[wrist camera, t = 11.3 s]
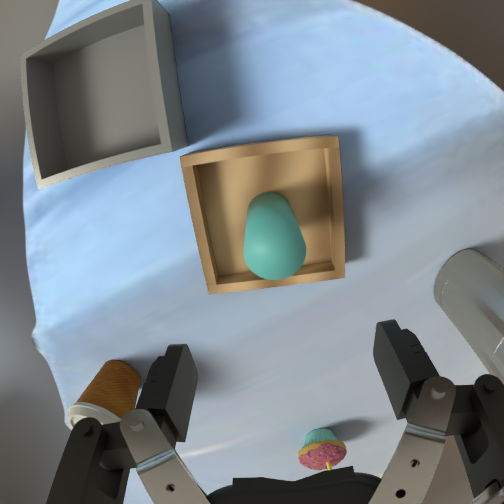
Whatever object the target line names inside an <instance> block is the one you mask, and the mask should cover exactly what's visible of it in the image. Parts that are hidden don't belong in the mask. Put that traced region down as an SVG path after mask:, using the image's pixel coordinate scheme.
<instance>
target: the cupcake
mask: <svg viewBox="0 0 504 504" xmlns="http://www.w3.org/2000/svg"><path fill="white" fill-rule="evenodd" d="M346 453H347V452H346V447H345V444H344V443H343V442H341V441H339V440H337V438H336V437H335V436H334V434H333V432H332V431H331V430H330V429H325V428H322V429H316V430H313V431H311V432H310V433H308V435H307V437H306V442H305V444H304V446H303V448H302V449H301V451H299V453H298V454H299V461H300V463H301V464H302V465H303V466H306V467H308V468H311V469H314V470H322V469H327V468H328V470H332V468H331V467H332V466H335V465H337V464H338V463H339V462H341V460H343V459H344V457H345V455H346Z"/></svg>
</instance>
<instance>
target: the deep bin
mask: <svg viewBox="0 0 504 504" xmlns="http://www.w3.org/2000/svg"><path fill="white" fill-rule="evenodd" d="M21 80H22V95H23V106H24V114H25V123H26V130H27V137H28V143H29V148H30V154H31V159H32V164H33V169H34V174H35V178H36V183H37V187H38V189H41V188H43V187H46V186H49V185H52V184H55V183H58V182H61V181H64V180H67V179H70V178H73V177H76V176H80V175H83V174H86V173H90V172H93V171H96V170H100V169H103V168H107V167H111V166H114V165H118V164H122V163H126V162H130V161H134V160H138V159H142V158H146V157H150V156H155V155H159V154H164V153H168V152H173V151H176V150H179V149H182V148H184V147H187V146H189V145H188V139H187V133H186V127H185V121H184V115H183V109H182V102H181V96H180V89H179V82H178V76H177V69H176V61H175V54H174V47H173V39H172V31H171V23H170V14H169V13H168V12H167V11H166V10H165V9H164V8H163V7H162V5H161V4H160V3H159V2H158V1H157V0H130V1H128V2H125V3H122V4H120V5H117V6H114V7H112V8H109V9H107V10H105V11H102V12H100V13H98V14H95V15H93V16H91V17H89V18H86V19H84V20H82V21H80V22H78V23H76V24H74V25H72V26H70V27H68V28H66V29H64V30H62V31H60V32H59V33H57V34H55V35H53V36H51V37H50V38H48V39H46V40H44V41H43V42H41V43H39V44H38V45H36V46H34V47H33V48H31V49H30V50H28V51H27V52H25V53H24V54H22V55H21Z"/></svg>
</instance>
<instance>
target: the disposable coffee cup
mask: <svg viewBox="0 0 504 504" xmlns="http://www.w3.org/2000/svg"><path fill="white" fill-rule="evenodd" d="M139 385H140V377H139V374H138V373H137V372H136V371H135V370H134V369H133V368H132V367H131V366H129V365H128V364H126V363H124V362H121V361H117V360H110V361H107V362H106V363H105V364H104V365H103V367H102V368H101V369H100V371H99V372H98V373H97V375H96V376H95V377H94V379H93V380H92V381H91V383H90V384H89V386H88V387H87V388H86V390H85V391H84V392H83V394H82V395H81V396H80V398H79V399H78V401H77V402H76V403H74V404H73V405H71V406H70V407H69V409H68V414H69V415H68V423H69V425H70V426H71V428H72V429H73V427H74V425H75V424H76V423H77V422H78V421H79V420H81V419H83V418H86V417H93V418H96V419H97V420H98V421H99V422H100V423H101V424H102V425H103V424H109V423H115V422H120V421H121V419H122V417H123V416H124V415H125V414H126V413H128V412H129V411H132V410H135V406H136V400H137V395H138V390H139Z"/></svg>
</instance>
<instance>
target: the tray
mask: <svg viewBox="0 0 504 504" xmlns="http://www.w3.org/2000/svg"><path fill="white" fill-rule="evenodd" d="M180 162H181V167H182V173H183V178H184V183H185V188H186V193H187V198H188V203H189V208H190V213H191V218H192V222H193V227H194V232H195V236H196V241H197V245H198V250H199V254H200V259H201V263H202V267H203V271H204V276H205V280H206V284H207V288H208V292H209V294H216V293H225V292H235V291H244V290H253V289H262V288H270V287H278V286H287V285H295V284H303V283H310V282H318V281H325V280H333V279H340V278H345V237H344V209H343V190H342V175H341V162H340V150H339V140H338V136H334V135H323V136H310V137H299V138H288V139H279V140H270V141H262V142H255V143H247V144H240V145H233V146H227V147H221V148H215V149H209V150H203V151H198V152H192V153H187V154H185V155H182V156H180ZM265 192H275V193H278V194H281V195H282V196H284V197H285V198H286V199H287V200H288V201H289V203H290V205H291V207H292V210H293V212H294V215H295V217H296V220H297V223H298V225H299V228H300V230H301V233H302V235H303V238H304V241H305V244H306V257H305V260H304V263H303V264H302V266H301V267H300V269H299V270H298V271H297V272H295V273H294V274H293V275H291V276H289V277H287V278H284V279H279V280H269V279H264V278H262V277H259V276H258V275H256V274H255V273H253V272H252V271H251V270H250V269H249V267H248V266H247V264H246V262H245V259H244V253H243V251H244V239H245V229H246V218H247V209H248V206H249V204H250V202H251V201H252V200H253V199H254V198H255V197H256V196H257V195H259V194H261V193H265Z"/></svg>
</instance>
